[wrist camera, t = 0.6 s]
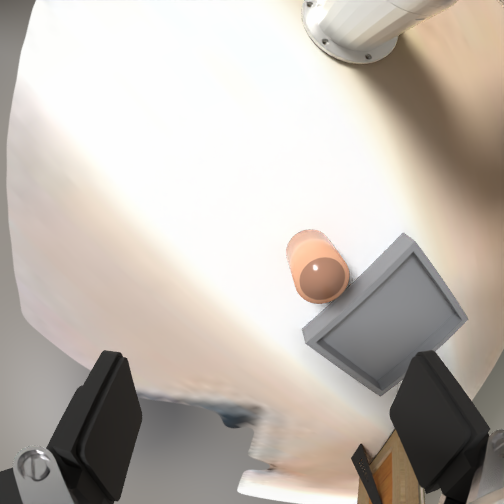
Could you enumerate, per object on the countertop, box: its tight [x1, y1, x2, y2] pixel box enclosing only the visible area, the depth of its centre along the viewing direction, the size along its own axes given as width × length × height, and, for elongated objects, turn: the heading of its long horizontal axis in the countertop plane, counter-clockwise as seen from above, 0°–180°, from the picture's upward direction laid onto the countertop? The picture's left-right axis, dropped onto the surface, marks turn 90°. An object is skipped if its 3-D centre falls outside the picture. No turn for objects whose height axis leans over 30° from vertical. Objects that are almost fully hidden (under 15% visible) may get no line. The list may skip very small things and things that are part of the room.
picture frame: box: [351, 429, 425, 504], centre depth 44 cm, size 33×10×30 cm, turn 174°
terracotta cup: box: [286, 230, 349, 304], centre depth 36 cm, size 6×6×8 cm
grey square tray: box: [302, 233, 468, 396], centre depth 42 cm, size 20×20×4 cm
